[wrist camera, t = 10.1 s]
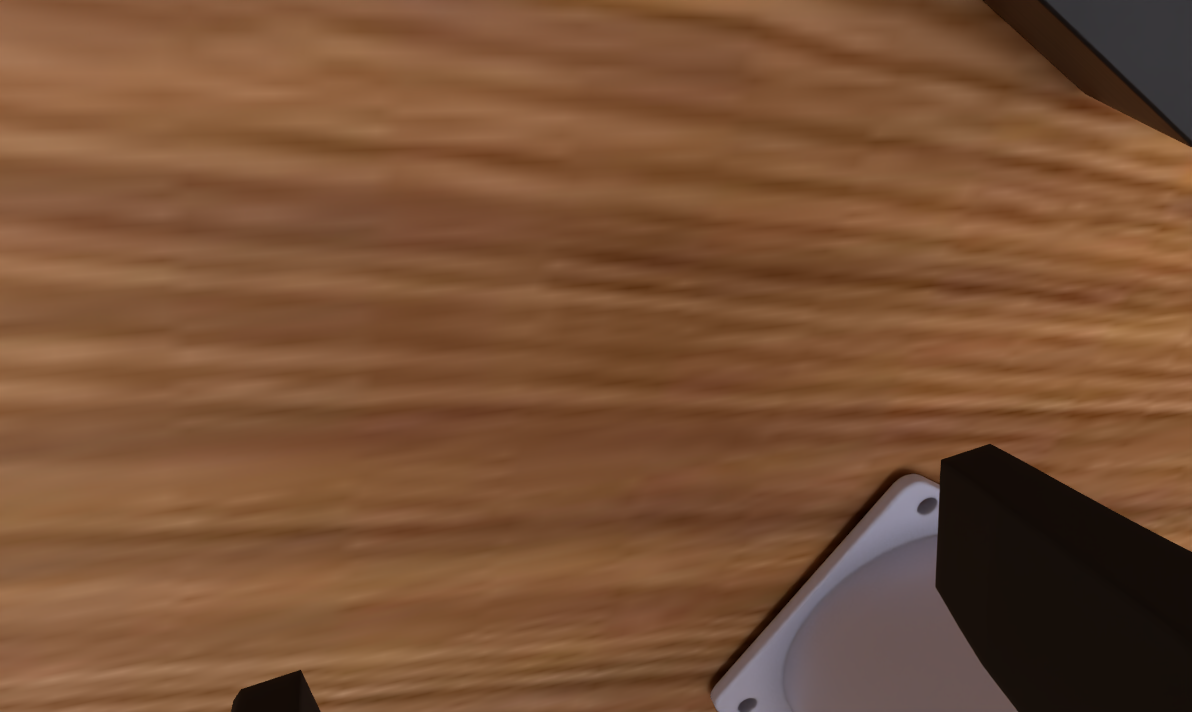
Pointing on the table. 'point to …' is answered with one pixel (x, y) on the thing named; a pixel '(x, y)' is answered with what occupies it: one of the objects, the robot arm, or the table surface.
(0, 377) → the table surface
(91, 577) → the table surface
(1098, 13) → the hob panel
